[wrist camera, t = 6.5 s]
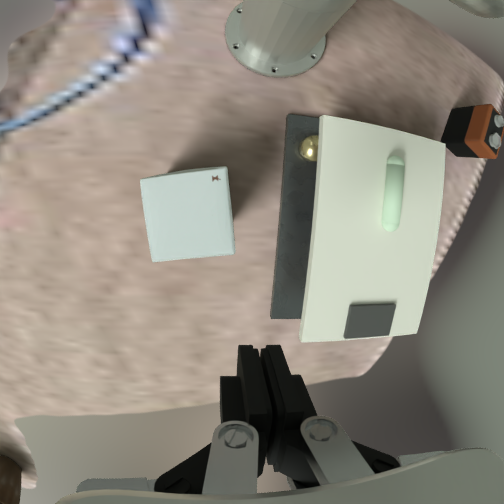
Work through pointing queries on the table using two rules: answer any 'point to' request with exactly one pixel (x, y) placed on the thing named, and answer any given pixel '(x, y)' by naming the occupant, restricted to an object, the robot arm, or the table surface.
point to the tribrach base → (295, 216)
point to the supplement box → (188, 214)
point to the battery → (474, 132)
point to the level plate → (371, 231)
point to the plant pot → (9, 481)
